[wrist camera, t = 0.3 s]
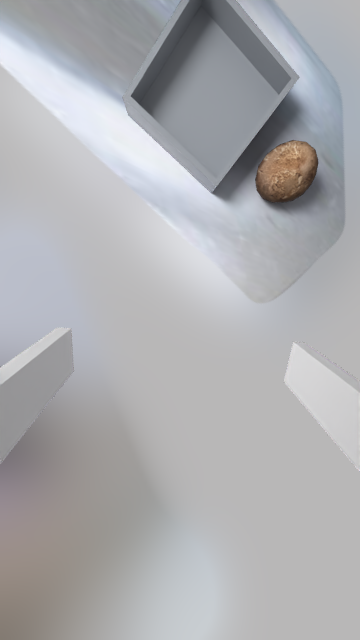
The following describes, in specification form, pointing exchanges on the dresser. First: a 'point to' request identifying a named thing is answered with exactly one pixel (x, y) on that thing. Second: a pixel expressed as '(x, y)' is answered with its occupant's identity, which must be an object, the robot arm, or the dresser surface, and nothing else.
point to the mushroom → (287, 171)
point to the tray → (208, 87)
